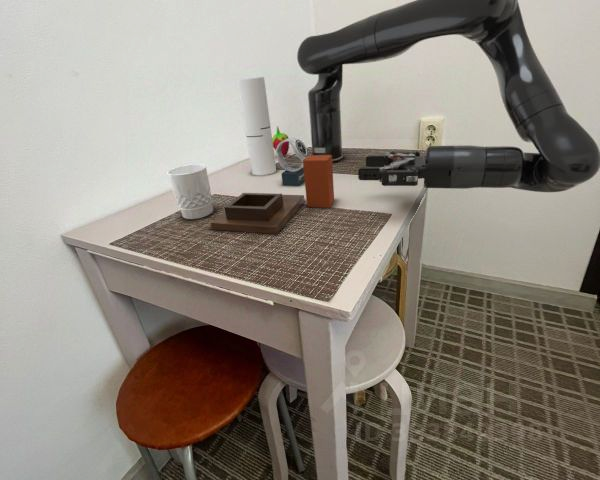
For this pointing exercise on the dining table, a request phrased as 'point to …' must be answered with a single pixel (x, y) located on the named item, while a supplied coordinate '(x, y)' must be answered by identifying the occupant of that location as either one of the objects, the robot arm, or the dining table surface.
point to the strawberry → (278, 139)
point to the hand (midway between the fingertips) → (362, 167)
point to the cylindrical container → (257, 125)
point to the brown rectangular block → (319, 180)
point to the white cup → (191, 190)
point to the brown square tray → (258, 213)
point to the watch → (292, 174)
